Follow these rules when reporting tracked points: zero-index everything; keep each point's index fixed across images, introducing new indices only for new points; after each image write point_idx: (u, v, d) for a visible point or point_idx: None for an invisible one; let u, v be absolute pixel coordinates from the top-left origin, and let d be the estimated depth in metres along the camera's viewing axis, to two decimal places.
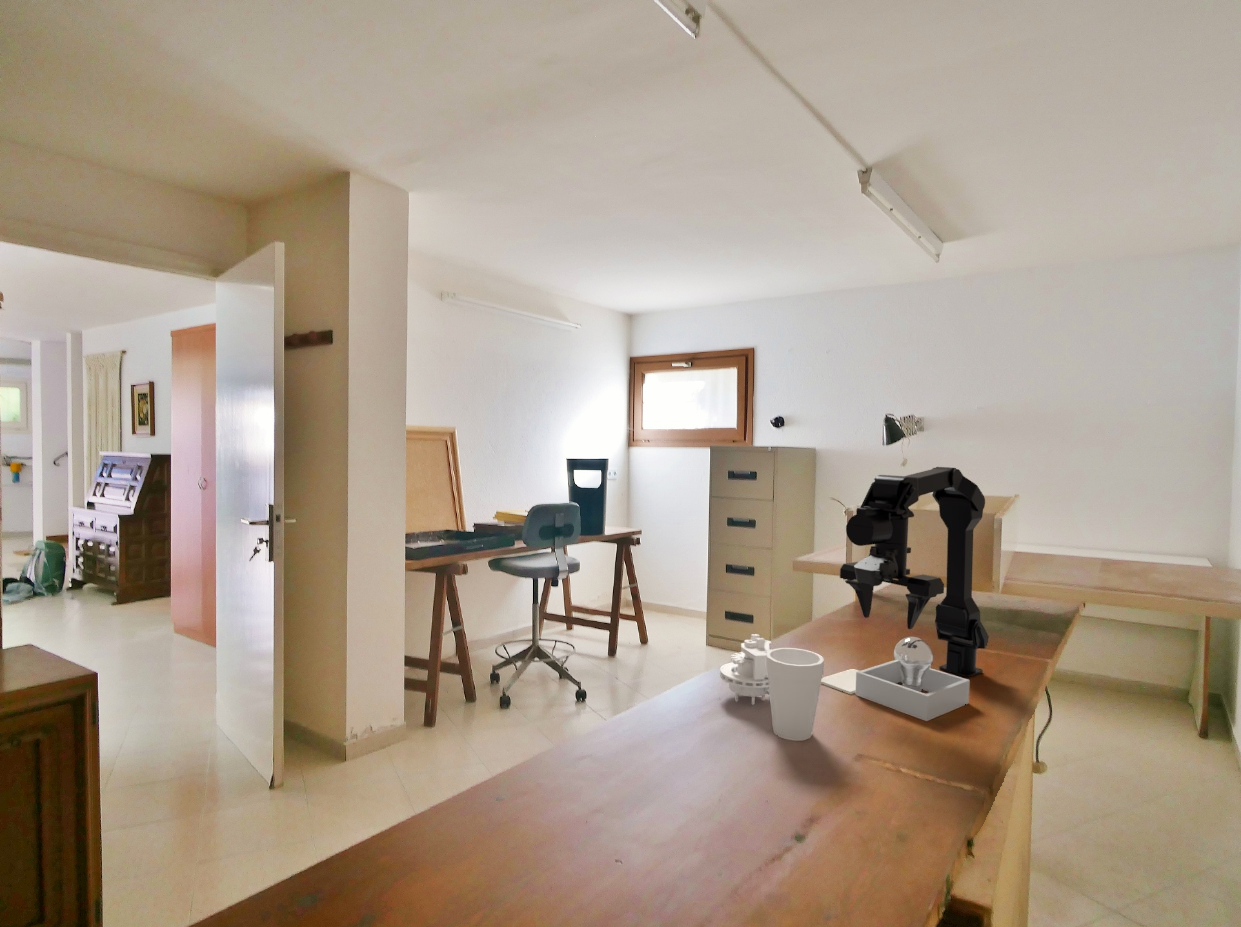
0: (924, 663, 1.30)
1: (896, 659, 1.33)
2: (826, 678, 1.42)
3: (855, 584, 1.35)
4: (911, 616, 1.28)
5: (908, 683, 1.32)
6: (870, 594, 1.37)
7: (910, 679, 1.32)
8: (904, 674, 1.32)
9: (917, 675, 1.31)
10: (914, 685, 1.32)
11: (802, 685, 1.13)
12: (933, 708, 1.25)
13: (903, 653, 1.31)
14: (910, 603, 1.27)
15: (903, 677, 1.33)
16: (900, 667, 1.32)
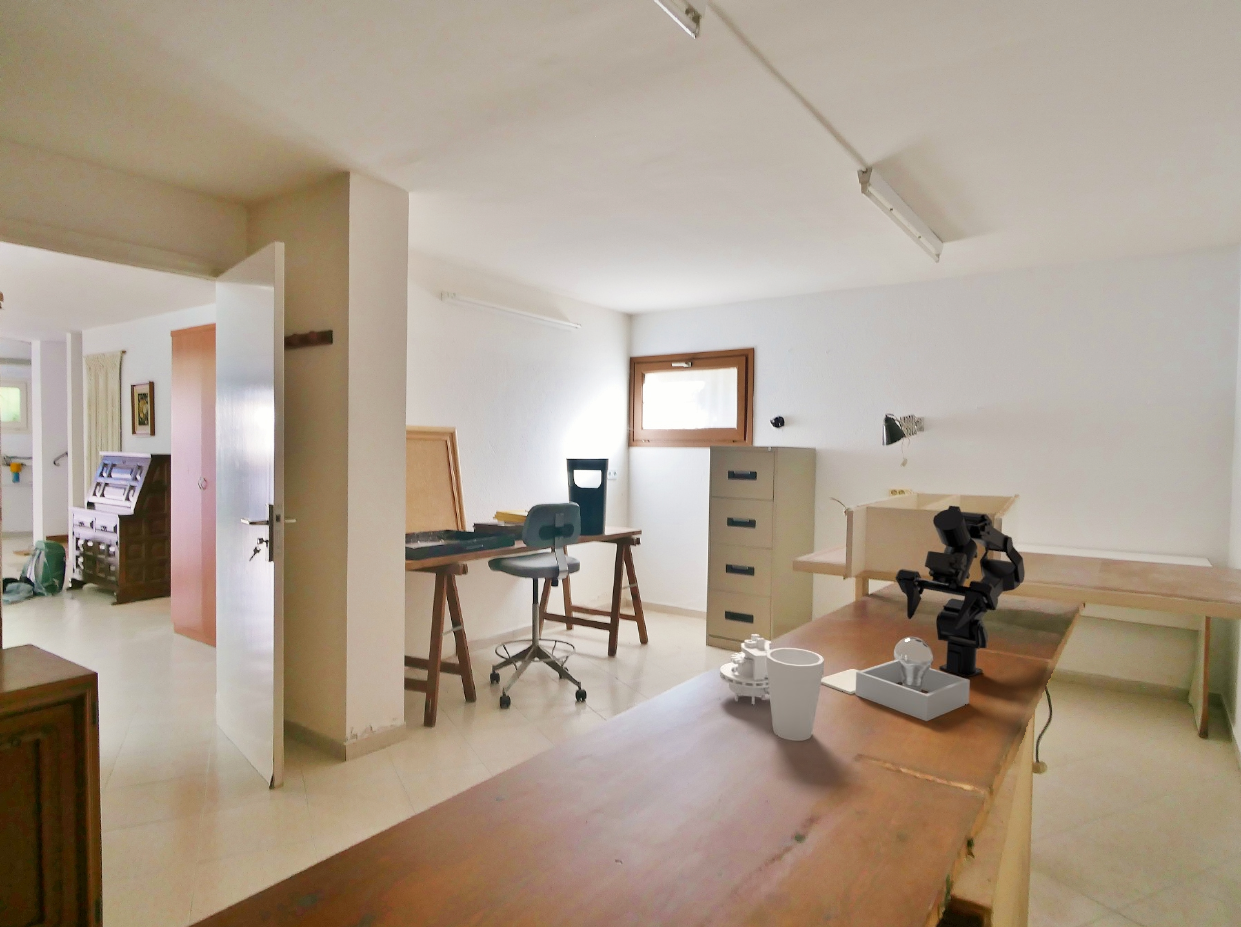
0: (924, 663, 1.30)
1: (896, 659, 1.33)
2: (826, 678, 1.42)
3: (912, 582, 1.44)
4: (962, 614, 1.35)
5: (908, 683, 1.32)
6: (916, 604, 1.44)
7: (910, 679, 1.32)
8: (904, 674, 1.32)
9: (917, 675, 1.31)
10: (914, 685, 1.32)
11: (802, 685, 1.13)
12: (933, 708, 1.25)
13: (903, 653, 1.31)
14: (965, 602, 1.36)
15: (903, 677, 1.33)
16: (900, 667, 1.32)
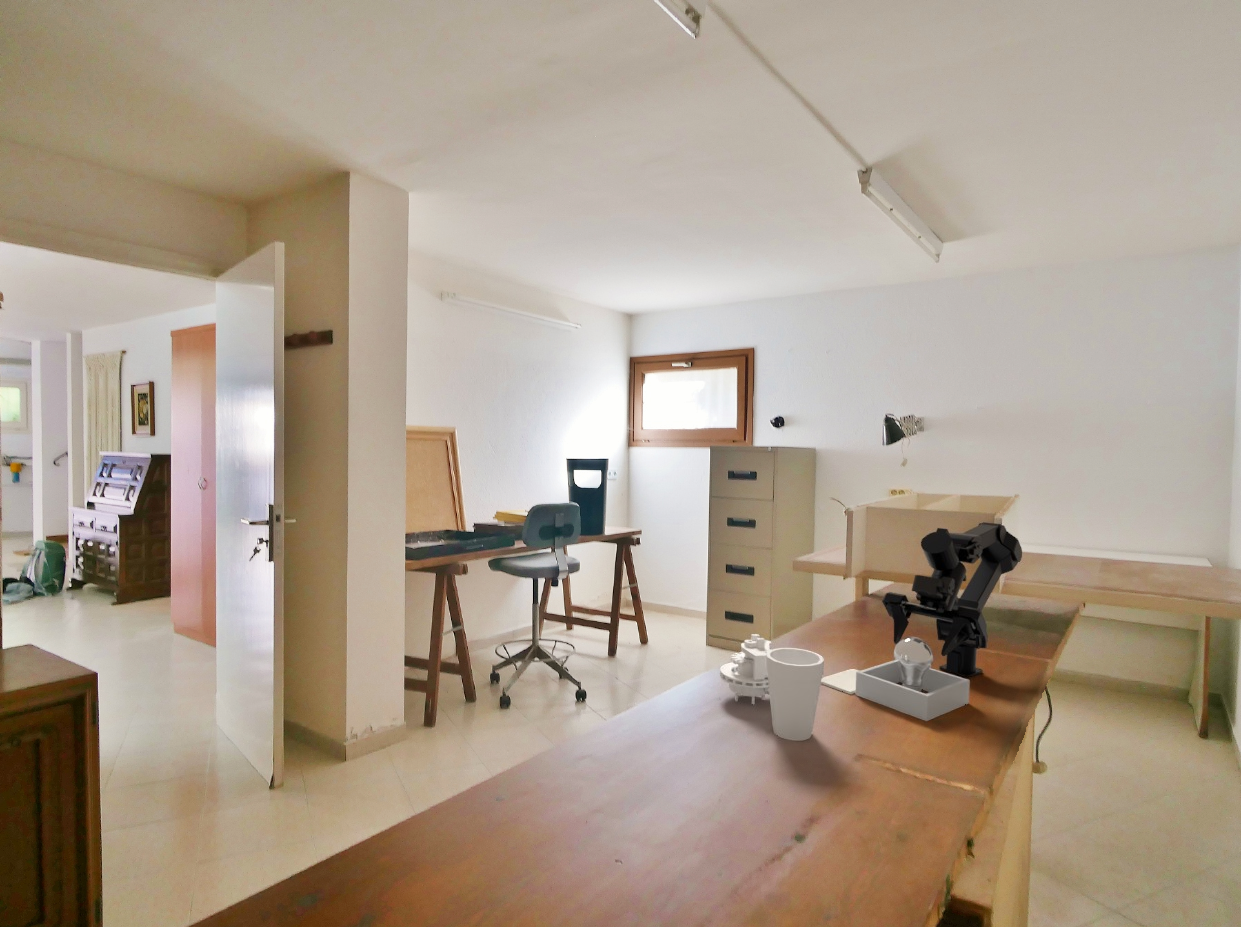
0: (924, 663, 1.30)
1: (896, 659, 1.33)
2: (826, 678, 1.42)
3: (898, 606, 1.40)
4: (950, 641, 1.31)
5: (908, 683, 1.32)
6: (903, 628, 1.41)
7: (910, 679, 1.32)
8: (904, 674, 1.32)
9: (917, 675, 1.31)
10: (914, 685, 1.32)
11: (802, 685, 1.13)
12: (933, 708, 1.25)
13: (903, 653, 1.31)
14: (953, 628, 1.32)
15: (903, 677, 1.33)
16: (900, 667, 1.32)
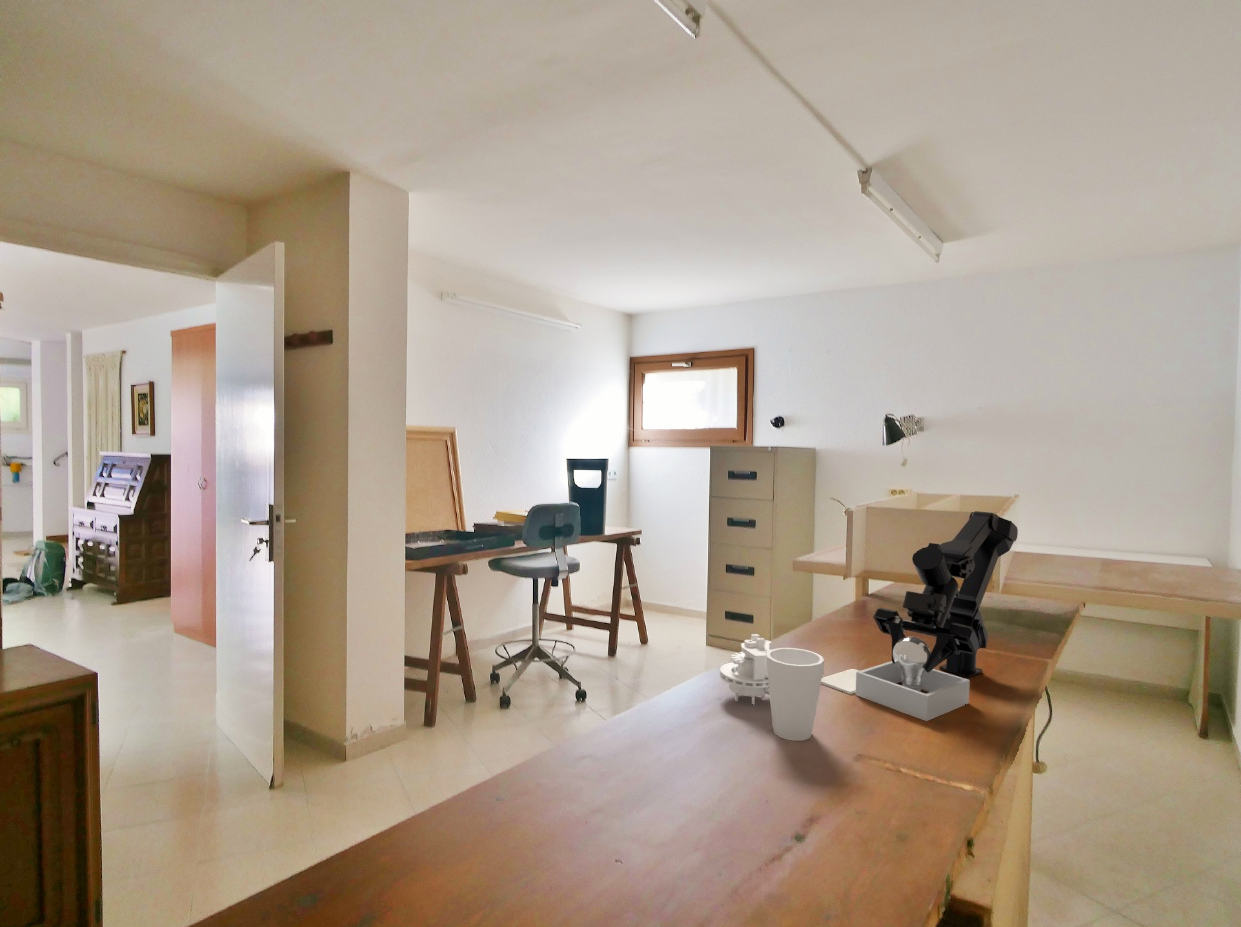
0: (923, 663, 1.30)
1: (895, 659, 1.33)
2: (826, 678, 1.42)
3: (896, 624, 1.37)
4: (933, 657, 1.30)
5: (908, 683, 1.32)
6: None
7: (909, 679, 1.32)
8: (903, 674, 1.32)
9: (916, 675, 1.31)
10: (914, 684, 1.32)
11: (802, 685, 1.13)
12: (933, 708, 1.25)
13: (901, 653, 1.31)
14: (937, 644, 1.31)
15: (902, 677, 1.33)
16: (899, 667, 1.32)
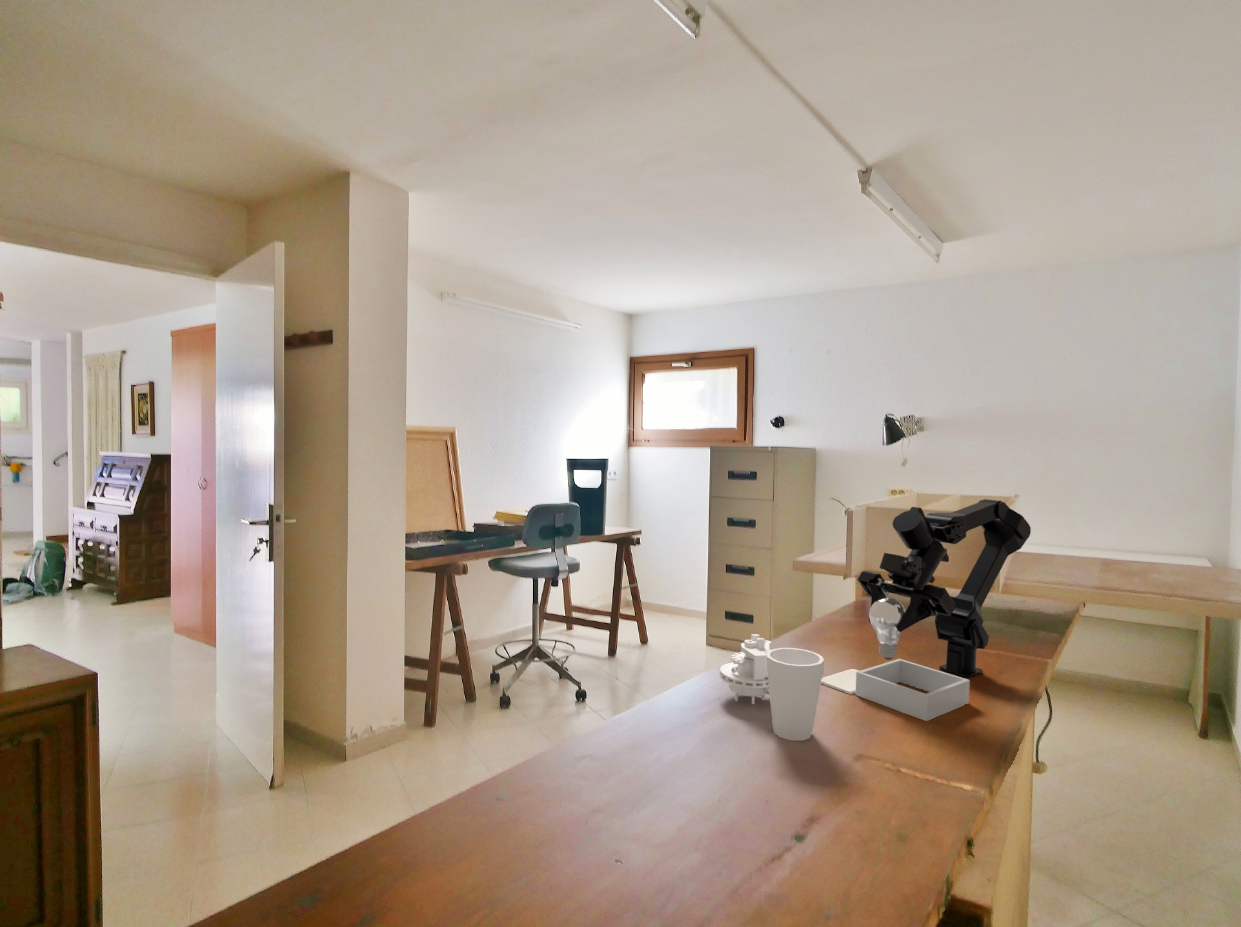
0: (895, 622, 1.32)
1: (870, 619, 1.36)
2: (826, 678, 1.42)
3: (876, 586, 1.39)
4: (906, 617, 1.32)
5: (882, 642, 1.35)
6: None
7: (883, 638, 1.34)
8: (878, 633, 1.35)
9: (890, 634, 1.34)
10: (888, 644, 1.34)
11: (802, 685, 1.13)
12: (933, 708, 1.25)
13: (875, 612, 1.34)
14: (911, 605, 1.33)
15: (878, 637, 1.36)
16: (874, 626, 1.35)
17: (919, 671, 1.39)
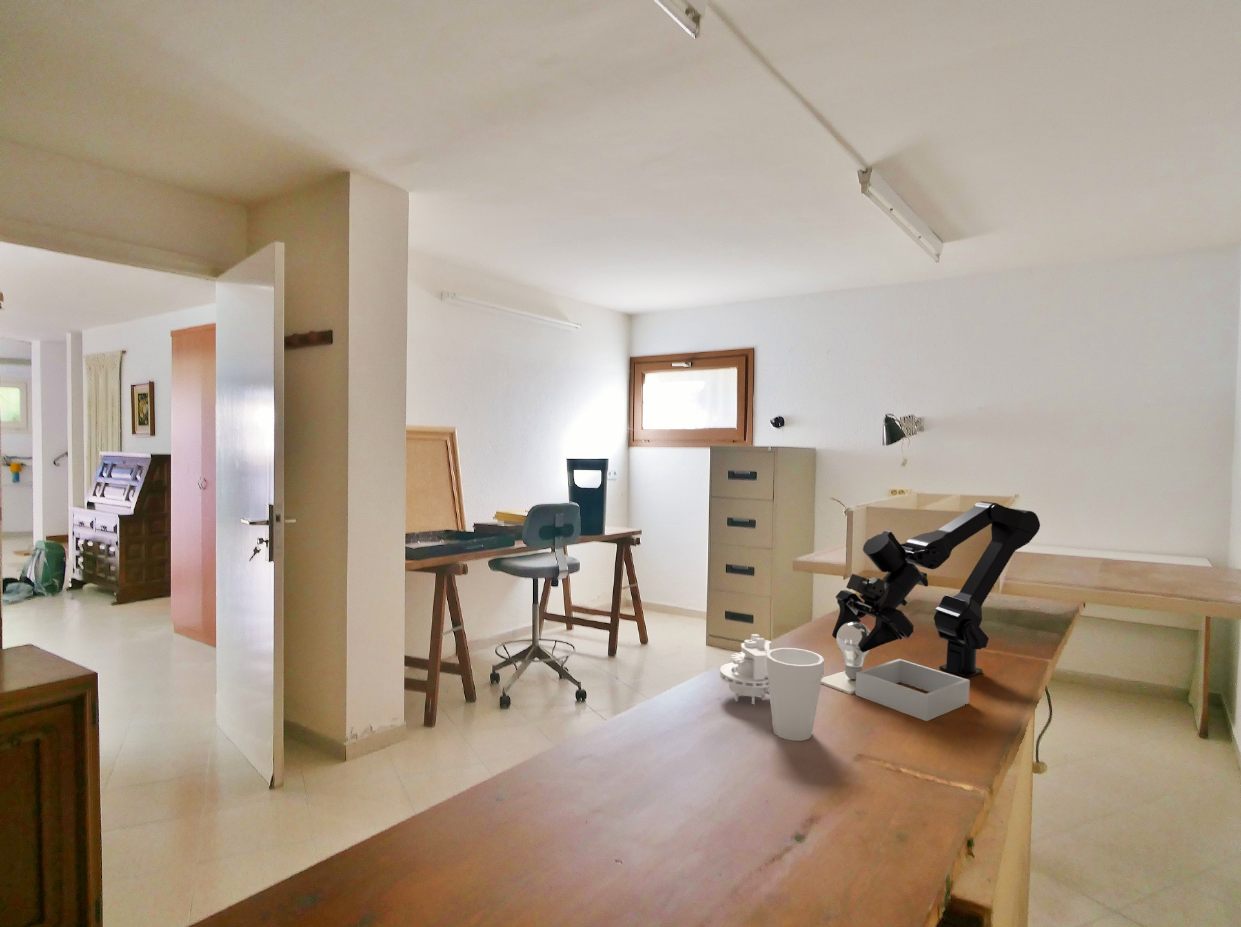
0: (856, 646, 1.38)
1: None
2: (826, 678, 1.42)
3: (843, 603, 1.47)
4: (869, 638, 1.36)
5: (846, 664, 1.41)
6: None
7: (847, 660, 1.41)
8: (843, 655, 1.41)
9: (852, 657, 1.40)
10: (851, 666, 1.40)
11: (802, 685, 1.13)
12: (933, 708, 1.25)
13: (839, 634, 1.41)
14: (875, 627, 1.37)
15: None
16: None
17: (919, 671, 1.39)
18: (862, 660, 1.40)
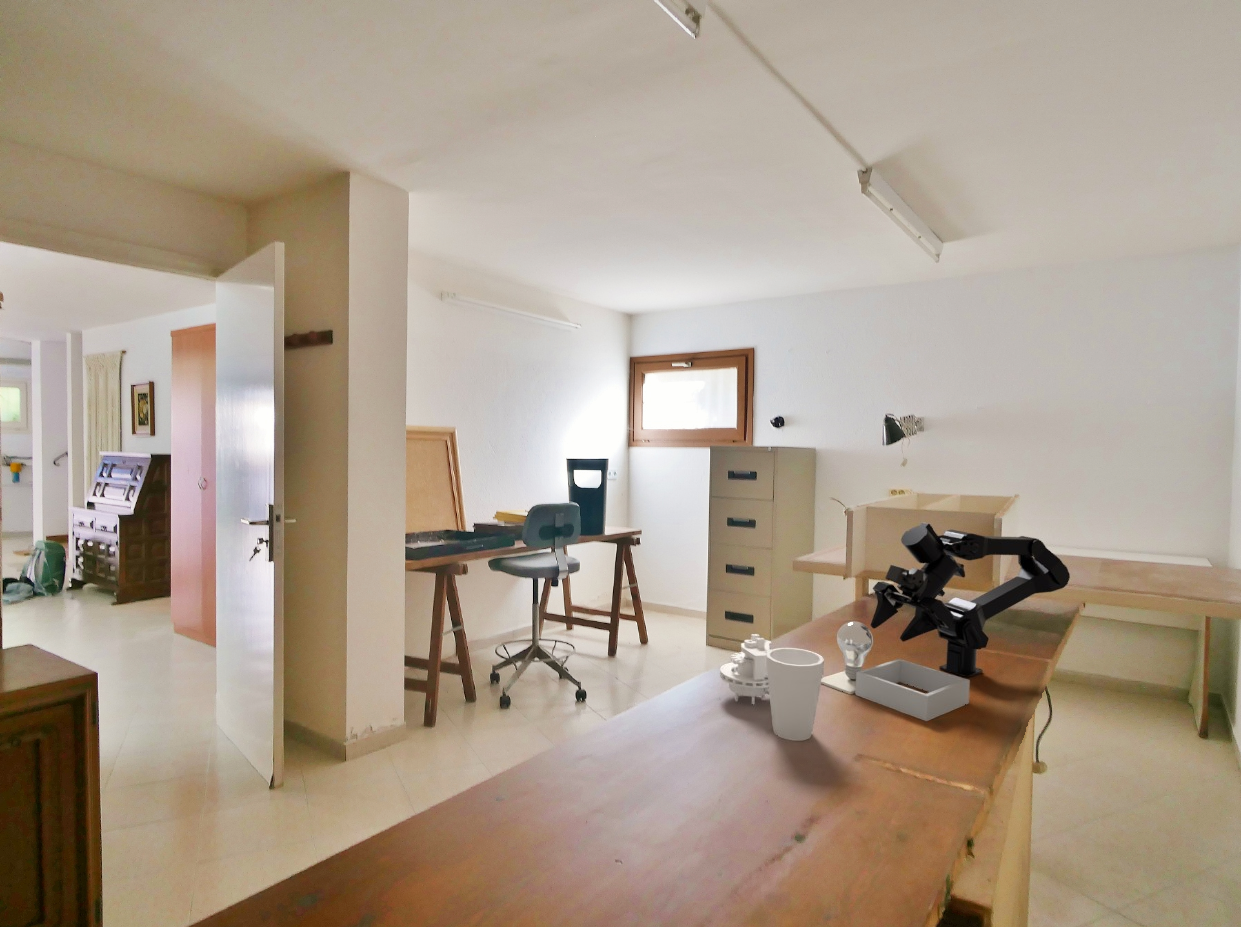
0: (856, 646, 1.38)
1: (837, 640, 1.43)
2: (826, 678, 1.42)
3: (881, 594, 1.50)
4: (909, 628, 1.39)
5: (846, 663, 1.41)
6: (887, 615, 1.50)
7: (847, 660, 1.41)
8: (843, 655, 1.42)
9: (852, 657, 1.40)
10: (851, 665, 1.40)
11: (802, 685, 1.13)
12: (933, 708, 1.25)
13: (839, 634, 1.41)
14: (915, 617, 1.39)
15: None
16: None
17: (919, 671, 1.39)
18: (862, 660, 1.40)
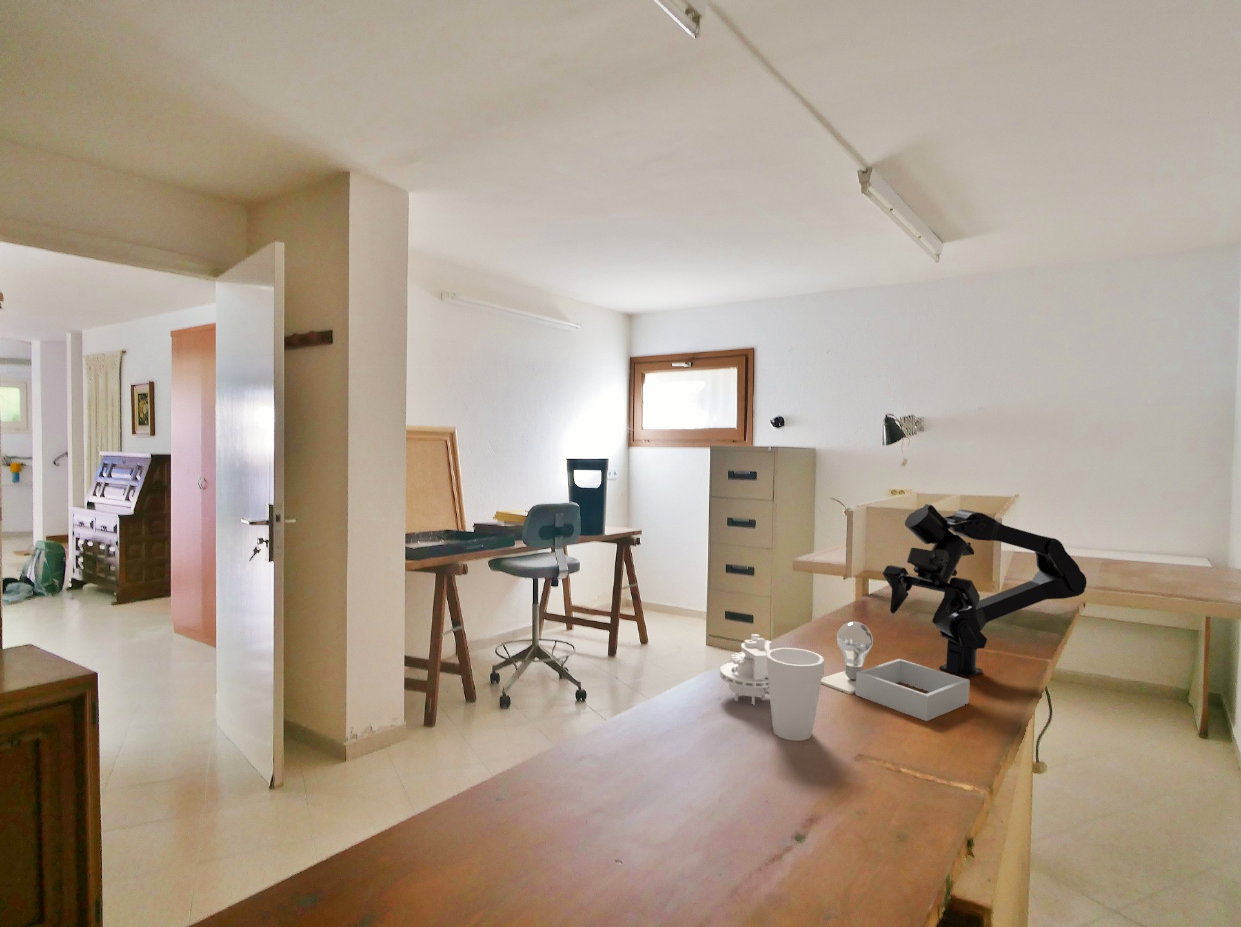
0: (856, 646, 1.38)
1: None
2: (826, 678, 1.42)
3: (896, 578, 1.47)
4: (941, 610, 1.38)
5: (846, 663, 1.41)
6: (902, 599, 1.48)
7: (847, 660, 1.41)
8: (843, 655, 1.42)
9: (852, 657, 1.40)
10: (851, 666, 1.40)
11: (802, 685, 1.13)
12: (933, 708, 1.25)
13: (839, 634, 1.41)
14: (945, 598, 1.38)
15: None
16: None
17: (919, 671, 1.39)
18: (862, 660, 1.40)
